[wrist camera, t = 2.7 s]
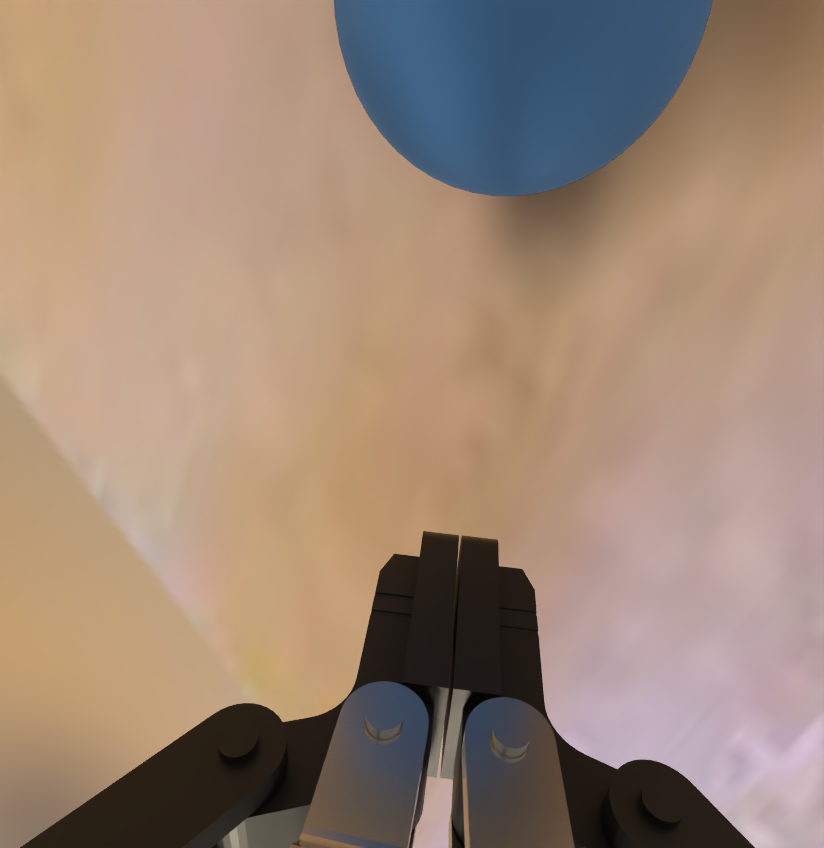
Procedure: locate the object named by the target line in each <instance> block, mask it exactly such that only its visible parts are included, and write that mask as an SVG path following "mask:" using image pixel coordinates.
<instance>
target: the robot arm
mask: <svg viewBox="0 0 824 848" xmlns="http://www.w3.org/2000/svg"><path fill="white" fill-rule="evenodd" d="M458 543H459V535H451V534H443V533H435V532H426V531H424V532H423V537H422V544H421V551H420V557H416V556H408V555H399V554H394V555H393V556H392V557H391V559H390V560H389V561H388V562H387V563H386V565H385V566H384V567H383V568H382V569H381V570H380V574H379V578H378V583H377V587H376V592H375V597H374V601H373V606H372V612H371V615H370V620H369V624H368V629H367V633H366V638H365V643H364V647H363V652H362V656H361V661H360V666H359V670H358V675H357V679H356V682H355V685H354V687H353V689H352V691H351V692H350V694H349V695H348V696H347V698H346V699H345V700H344V701H343V702H342V703H340V704H339V705H338V706H337V707H335V708H334V709H332V710H330V711H328V712H326V713H324V714H321V715H318V716H314V717H310V718H304V719H299V720H293V721H288V722H282V721H281V719H280V718H279V716H278V715H277V714H275V713H274V712H273V711H272V710H270V709H268V708H267V707H264V706H262V705H258V704H252V703H243V704H236V705H233V706H229V707H226V708H224V709H222V710H220V711H218V712H217V713H215V714H213V715H212V716H210V717H209V718H207V719H206V720H204V721H203V722H202V723H200V724H199V725H197V726H196V727H194V728H193V729H191V730H190V731H188V732H187V733H186V734H184V735H183V736H181V737H180V738H179V739H177V740H175V741H174V742H173V743H171V744H170V745H168V746H167V747H165V748H164V749H162V750H161V751H159V752H158V753H157V754H155V755H154V756H152V757H151V758H149V759H148V760H146V761H145V762H144V763H142V764H141V765H139V766H138V767H136V768H135V769H133V770H132V771H131V772H129V773H128V774H126V775H125V776H123V777H122V778H120V779H119V780H117V781H116V782H115V783H113V784H112V785H110V786H109V787H107V788H106V789H104V790H103V791H101V792H100V793H99V794H97V795H96V796H94V797H93V798H91V799H90V800H89V801H87V802H86V803H84V804H83V805H81V806H80V807H78V808H77V809H76V810H74V811H72V812H71V813H70V814H68V815H67V816H65V817H64V818H62V819H61V820H59V821H58V822H57V823H55V824H54V825H52V826H51V827H49V828H48V829H46V830H45V831H44V832H42V833H41V834H39V835H38V836H36V837H35V838H33V839H32V840H30V841H29V842H28V843H26V844H25V845H23V846H22V847H20V848H413V845H414V839H415V833H416V827H417V824H418V822H419V820H420V817H421V815H422V810H423V803H424V795H425V787H426V780H427V776H430V777H437V770H438V763H439V756H440V749H441V742H442V734H443V727H444V734H443V748H442V762H441V777H440V778H446V779H453V793H452V809H451V815H450V821H449V848H755V847H754V846H753V845H752V844H751V843H750V842H749V841H748V840H747V839H746V838H745V837H744V836H743V835H742V834H741V833H740V832H739V831H738V830H737V829H736V828H735V827H734V826H733V825H732V824H731V823H730V822H729V821H728V820H727V819H726V818H725V817H724V816H723V815H722V814H721V813H720V812H719V811H718V810H717V809H716V808H715V807H714V806H713V805H712V803H711V802H710V801H709V800H708V799H707V798H706V797H705V796H704V795H703V794H702V793H701V792H700V791H699V790H698V789H697V788H696V787H695V786H694V785H693V784H692V783H691V782H690V781H689V780H688V779H687V778H685V777H684V776H683V775H682V774H680V773H679V772H678V771H676V770H674V769H673V768H671V767H669V766H667V765H665V764H662V763H659V762H656V761H652V760H634V761H630V762H627V763H626V764H624V765H622V766H621V767H620V768H619V769H618V770H617V769H615V768H613V767H611V766H609V765H607V764H604V763H602V762H600V761H598V760H596V759H594V758H591V757H589V756H587V755H585V754H583V753H581V752H579V751H578V750H576V749H575V748H573V747H572V746H570V745H569V744H568V743H567V742H566V741H565V740H564V739H563V738H562V737H561V736H560V735H559V734H558V733H557V732H556V730H555V729H554V727H553V726H552V724H551V722H550V720H549V718H548V716H547V713H546V710H545V704H544V695H543V683H542V671H541V659H540V648H539V636H538V624H537V616H536V601H535V590H534V588H533V586H532V585H531V583H530V581H529V580H528V578H527V576H526V575H525V573H524V571H523V570H522V569H517V568H509V567H500V566H499V558H498V540H495V539H487V538H478V537H470V536H462V537H461V544H460V551H459V559H458V567H457V558H458ZM456 573H457V574H456Z"/></svg>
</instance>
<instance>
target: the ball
mask: <svg viewBox="0 0 824 848" xmlns="http://www.w3.org/2000/svg"><path fill="white" fill-rule="evenodd" d="M711 5H712V0H334V8H335V19H336V26H337V32H338V38H339V44H340V47H341V51H342V55H343V58H344V62H345V65H346V69H347V72H348V74H349V77H350V79H351V82H352V84H353V87H354V89H355V92H356V94H357V96H358V98H359V100H360V101H361V103H362V105H363V107H364V109H365V111H366V112H367V114H368V116H369V117H370V119H371V120H372V122H373V123H374V124H375V126H376V127H377V129H378V130H379V131H380V133H381V134H382V135H383V137H384V138H385V139H386V140H387V141H388V142H389V143H390V144H391V145H392V146H393V147H394V148H395V150H396V151H397V152H398V153H400V154H401V155H402V156H403V157H404V158H406V159H407V160H408V161H409V162H410V163H412V164H413V165H414V166H415V167H417V168H418V169H420V170H422V171H423V172H425V173H426V174H428V175H430V176H431V177H433V178H435V179H437V180H439V181H441V182H444V183H446V184H448V185H450V186H452V187H456V188H459V189H462V190H466V191H469V192H472V193H479V194H485V195H492V196H520V195H529V194H537V193H541V192H545V191H548V190H552V189H556V188H559V187H562V186H564V185H567V184H570V183H572V182H575V181H577V180H580V179H582V178H584V177H585V176H587V175H589V174H591V173H593V172H595V171H596V170H598V169H600V168H602V167H603V166H605V165H606V164H607V163H609V162H610V161H612V160H613V159H614V158H616V157H617V156H619V155H620V154H621V153H623V152H624V151H625V150H626V149H627V148H628V147H629V146H630V145H632V144H633V143H634V142H635V141H636V140H637V139H638V138H639V137H640V136H641V135H642V134H643V133H644V132H645V131H646V130H647V129H648V128H649V126H650V125H651V124H652V123H653V122H654V121H655V120H656V119H657V117H658V116H659V115H660V114H661V112H662V111H663V109H664V108H665V107H666V105H667V104H668V102H669V101H670V100H671V98H672V97H673V95H674V94H675V92H676V91H677V89H678V87H679V85H680V84H681V82H682V80H683V78H684V76H685V75H686V73H687V71H688V69H689V67H690V65H691V63H692V61H693V58H694V56H695V54H696V51H697V49H698V47H699V44H700V42H701V39H702V36H703V33H704V30H705V26H706V23H707V20H708V17H709V14H710V10H711Z"/></svg>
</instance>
